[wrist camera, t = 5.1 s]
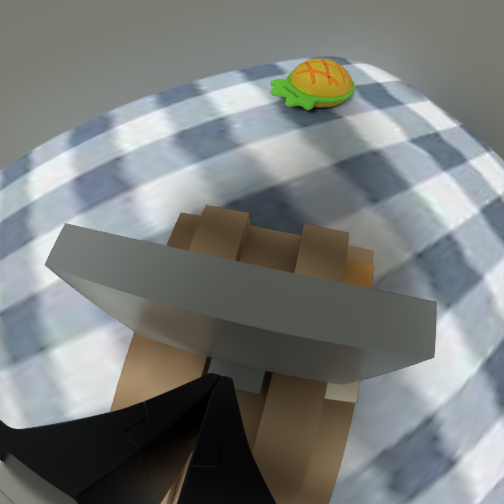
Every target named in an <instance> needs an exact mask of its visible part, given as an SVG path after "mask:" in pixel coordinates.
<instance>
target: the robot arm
mask: <svg viewBox="0 0 504 504" xmlns="http://www.w3.org/2000/svg"><path fill="white" fill-rule="evenodd" d="M192 451H193V452H192ZM191 453H192V456H191V459H190V462H189V465H188V469H187V472H186V475H185V478H184V482H183V485H182V488H181V491H180V495H179V498H178V501H177V504H277V503H276V501H275V499H274V497H273V495H272V493H271V491H270V489H269V487H268V485H267V483H266V481H265V479H264V477H263V475H262V473H261V471H260V469H259V467H258V465H257V463H256V461H255V459H254V457H253V454H252V452H251V449H250V446H249V443H248V439H247V435H246V433H245V428H244V424H243V420H242V416H241V412H240V408H239V403H238V399H237V395H236V390H235V386H234V382H233V378H231V377H227V376H221V375H219V374H215V373H208V374H206V375H204V376H201V377H199V378H197V379H195V380H193V381H190V382H188V383H186V384H183V385H181V386H179V387H177V388H174V389H172V390H170V391H167V392H165V393H162V394H160V395H158V396H155V397H153V398H150V399H148V400H145V401H144V402H143V401H142V402H139V403H137V404H134V405H131V406H128V407H126V408H123V409H119V410H116V411H112V412H108V413H104V414H100V415H95V416H91V417H86V418H82V419H77V420H72V421H67V422H62V423H56V424H51V425H45V426H39V427H32V428H25V429H14V428H11V427H9V426H7V425H6V424H5V423H3V422H2V421H1V420H0V460H1V461H2V462H1V463H0V504H161V502H162V501H163V499H164V498H165V496H166V494H167V493H168V491H169V489H170V488H171V486H172V485H173V483H174V481H175V480H176V478H177V476H178V475H179V473H180V471H181V470H182V468H183V466H184V465H185V463H186V461H187V460H188V458H189V456H190V455H191Z"/></svg>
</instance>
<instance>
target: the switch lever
mask: <svg viewBox="0 0 504 504" xmlns="http://www.w3.org/2000/svg"><path fill="white" fill-rule="evenodd" d="M45 266H46V267H48V268H49V269H50V270H51V271H52V272H54V273H55V274H56V275H57V276H59V277H60V278H61V279H62V280H64V281H65V282H66V283H67V284H69V285H70V286H71V287H72V288H74V289H75V290H76V291H78V292H79V293H80V294H82V295H83V296H84V297H86V298H87V299H88V300H90V301H91V302H92V303H94V304H95V305H96V306H98V307H99V308H101V309H102V310H103V311H105V312H106V313H108V314H109V315H111V316H112V317H113V318H115V319H116V320H118V321H119V322H121V323H122V324H124V325H125V326H127V327H128V328H130V329H131V330H133V331H134V332H136V333H137V334H139V335H140V336H142V337H145V338H148V339H151V340H154V341H157V342H160V343H163V344H166V345H170V346H173V347H176V348H179V349H183V350H186V351H190V352H193V353H197V354H200V355H204V356H207V357H211V358H212V360H211V363H210V367H209V370H208V373H215V374H219V375H221V376H227V377H231V378H233V382H234V386H235V389H237V390H241V391H245V392H250V393H254V394H258V395H259V394H260V391H261V387H262V383H263V378H264V374H265V371H268V372H273V373H278V374H283V375H288V376H293V377H298V378H304V379H309V380H315V381H321V382H327V383H333V384H340V385H345V384H349V383H353V382H357V381H361V380H364V379H368V378H372V377H375V376H379V375H382V374H386V373H389V372H392V371H396V370H399V369H402V368H405V367H408V366H411V365H414V364H417V363H420V362H423V361H426V360H428V359H431V358H434V354H435V338H436V309H437V301H431V300H426V299H421V298H416V297H410V296H405V295H400V294H395V293H390V292H385V291H380V290H375V289H370V288H365V287H360V286H355V285H350V284H345V283H340V282H335V281H330V280H325V279H320V278H315V277H310V276H305V275H300V274H295V273H291V272H286V271H281V270H276V269H271V268H267V267H262V266H257V265H252V264H247V263H243V262H238V261H233V260H229V259H224V258H219V257H215V256H210V255H205V254H201V253H196V252H191V251H187V250H182V249H178V248H173V247H168V246H164V245H159V244H155V243H150V242H146V241H141V240H137V239H132V238H128V237H123V236H119V235H115V234H110V233H106V232H101V231H97V230H92V229H88V228H84V227H79V226H75V225H71V224H66V223H65V225H64V227H63V229H62V230H61V232H60V234H59V236H58V238H57V240H56V242H55V244H54V246H53V248H52V250H51V252H50V254H49V256H48V259H47V261H46V263H45Z"/></svg>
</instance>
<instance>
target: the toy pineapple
mask: <svg viewBox="0 0 504 504" xmlns="http://www.w3.org/2000/svg"><path fill="white" fill-rule="evenodd" d="M271 86H273V87H274V88H273V89H272V90H271V95H273V96H280V97H285V98H286V105H287V106H302V107H303V108H304V109H306V110H311V109H312V108H313V107H317V108H323V107H333V106H336V105H338V104H340V103H342V102H343V101H345V100H346V99H347V98H349V97H350V96H351V95H352V94H353V92H354V90H355V85H354V83H353V81H352V79H351V77H350V75H349V73H348V72H347V71H346V69H345V68H344V67H342V66H341V65H340V64H338V63H336V62H334V61H332V60H329V59H318V58H316V59H310V60H307V61H305V62H304V63H301V64H300V65H298V66H297V67H296V68H295V69H294V70H293V71H292V72H291V73H290V74H289V75H288V77H287V79H278V80H273V81H271Z"/></svg>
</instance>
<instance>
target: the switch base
mask: <svg viewBox="0 0 504 504" xmlns="http://www.w3.org/2000/svg"><path fill="white" fill-rule="evenodd" d="M348 239H349V233H347V232H342V231H338V230H333V229H328V228H324V227H319V226H314V225H309V224H304V226H303V230H302V235H296V234H291V233H286V232H281V231H276V230H271V229H266V228H261V227H256V226H251V225H250V217H249V213H248V212H242V211H237V210H231V209H225V208H220V207H214V206H208V205H206V206H205V208H204V211H203V213H202V216H197V215H192V214H186V213H180V215H179V218H178V220H177V222H176V225H175V227H174V229H173V232H172V234H171V237H170V239H169V241H168V244H167V246H168V247H173V248H178V249H182V250H187V251H191V252H196V253H201V254H205V255H210V256H215V257H219V258H224V259H229V260H233V261H238V262H243V263H247V264H252V265H257V266H262V267H267V268H271V269H276V270H281V271H286V272H291V273H295V274H300V275H305V276H310V277H315V278H320V279H325V280H330V281H335V282H340V283H345V284H350V285H355V286H360V287H365V288H370V289H372V280H373V251H372V250H367V249H363V248H358V247H354V246H349V245H348ZM211 360H212V358H211V357H207V356H204V355H200V354H197V353H193V352H190V351H186V350H183V349H179V348H176V347H173V346H170V345H166V344H163V343H160V342H157V341H154V340H151V339H148V338H145V337H142V336H140V335H139V334H137V333H136V332H134V335H133V338H132V341H131V344H130V347H129V350H128V353H127V356H126V359H125V362H124V365H123V369H122V372H121V375H120V379H119V382H118V385H117V389H116V392H115V396H114V399H113V403H112V406H111V410H110V412H112V411H116V410H119V409H123V408H126V407H128V406H131V405H134V404H137V403H139V402H142V401H143V402H144V401H145V400H148V399H150V398H153V397H155V396H158V395H160V394H162V393H165V392H167V391H170V390H172V389H174V388H177V387H179V386H181V385H183V384H186V383H188V382H190V381H193V380H195V379H197V378H199V377H201V376H204V375H206V374H208V370H209V367H210V363H211ZM359 384H360V381H357V382H353V383H349V384H345V385H340V384H333V383H327V382H321V381H315V380H309V379H304V378H298V377H293V376H288V375H283V374H278V373H273V372H268V371H265V374H264V378H263V383H262V387H261V391H260V394H259V395H258V394H254V393H250V392H245V391H241V390H237V389H235V390H236V395H237V399H238V403H239V408H240V412H241V416H242V420H243V424H244V428H245V433H246V435H247V439H248V443H249V446H250V449H251V452H252V454H253V457H254V459H255V461H256V463H257V465H258V467H259V469H260V471H261V473H262V475H263V477H264V479H265V481H266V483H267V485H268V487H269V489H270V491H271V493H272V495H273V497H274V499H275V501H276V503H277V504H329V501H330V498H331V495H332V492H333V489H334V485H335V482H336V479H337V475H338V472H339V468H340V464H341V461H342V457H343V453H344V449H345V445H346V441H347V437H348V433H349V428H350V424H351V420H352V415H353V410H354V405H355V403H356V400H357V395H358V390H359ZM192 452H193V451H192ZM191 456H192V453H191V455H190V456H189V458H188V460H187V461H186V463H185V465H184V466H183V468H182V470H181V471H180V473H179V475H178V476H177V478H176V480H175V481H174V483H173V485H172V486H171V488H170V489H169V491H168V493H167V494H166V496H165V498H164V499H163V501H162V502H161V504H177V501H178V498H179V495H180V491H181V488H182V485H183V482H184V478H185V475H186V472H187V469H188V465H189V462H190V459H191Z"/></svg>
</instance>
